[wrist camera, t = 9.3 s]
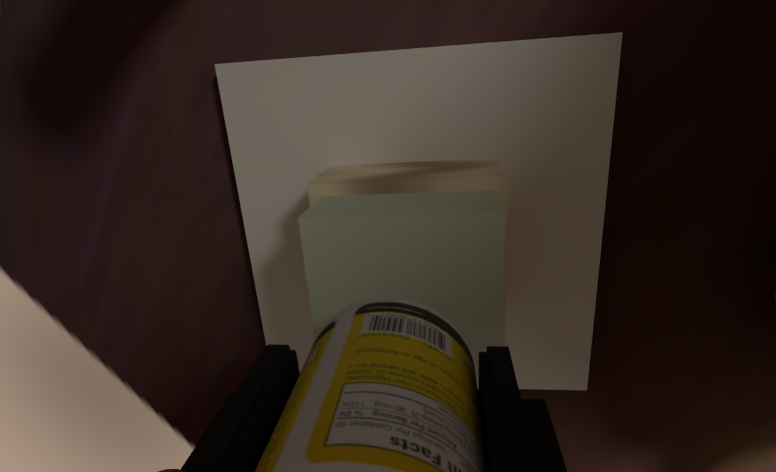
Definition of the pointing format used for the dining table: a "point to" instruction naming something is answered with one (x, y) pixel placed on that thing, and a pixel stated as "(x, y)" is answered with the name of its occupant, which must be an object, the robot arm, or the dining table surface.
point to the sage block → (410, 257)
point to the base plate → (440, 143)
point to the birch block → (417, 184)
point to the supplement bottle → (382, 397)
